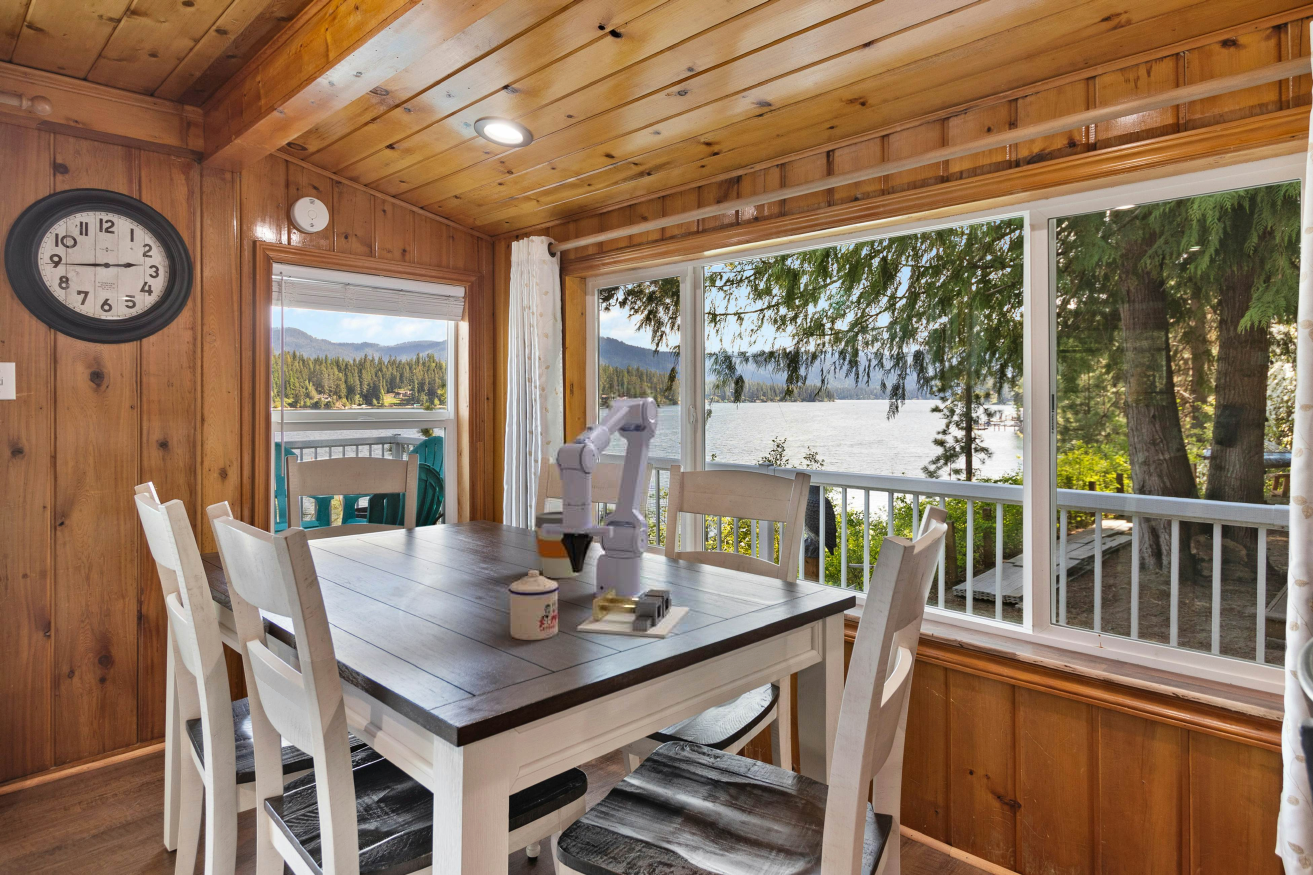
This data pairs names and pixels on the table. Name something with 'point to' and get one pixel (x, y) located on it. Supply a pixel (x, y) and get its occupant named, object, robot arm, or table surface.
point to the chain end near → (647, 613)
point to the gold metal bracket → (612, 604)
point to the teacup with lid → (533, 607)
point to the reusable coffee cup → (553, 548)
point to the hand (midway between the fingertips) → (577, 571)
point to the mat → (624, 624)
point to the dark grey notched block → (665, 599)
